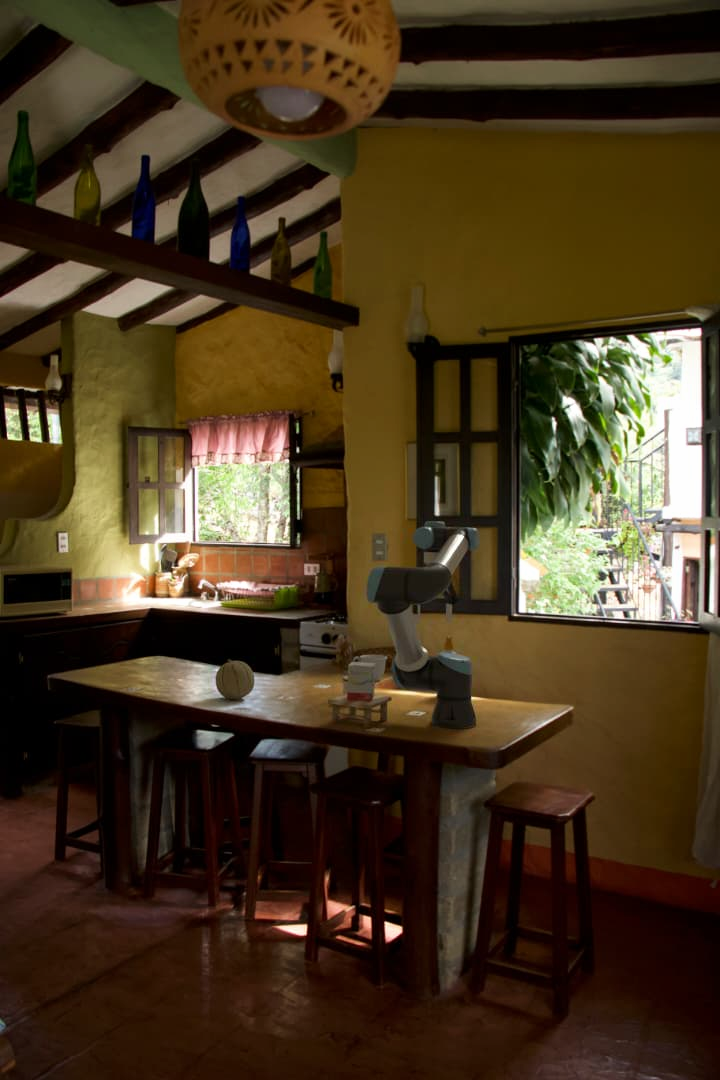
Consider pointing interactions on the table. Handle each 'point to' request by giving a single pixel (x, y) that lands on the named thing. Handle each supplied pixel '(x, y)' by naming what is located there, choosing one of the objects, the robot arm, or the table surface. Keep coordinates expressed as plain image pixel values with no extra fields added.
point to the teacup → (378, 661)
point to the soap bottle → (448, 645)
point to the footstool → (359, 708)
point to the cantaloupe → (234, 680)
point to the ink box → (361, 681)
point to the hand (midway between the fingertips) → (433, 622)
